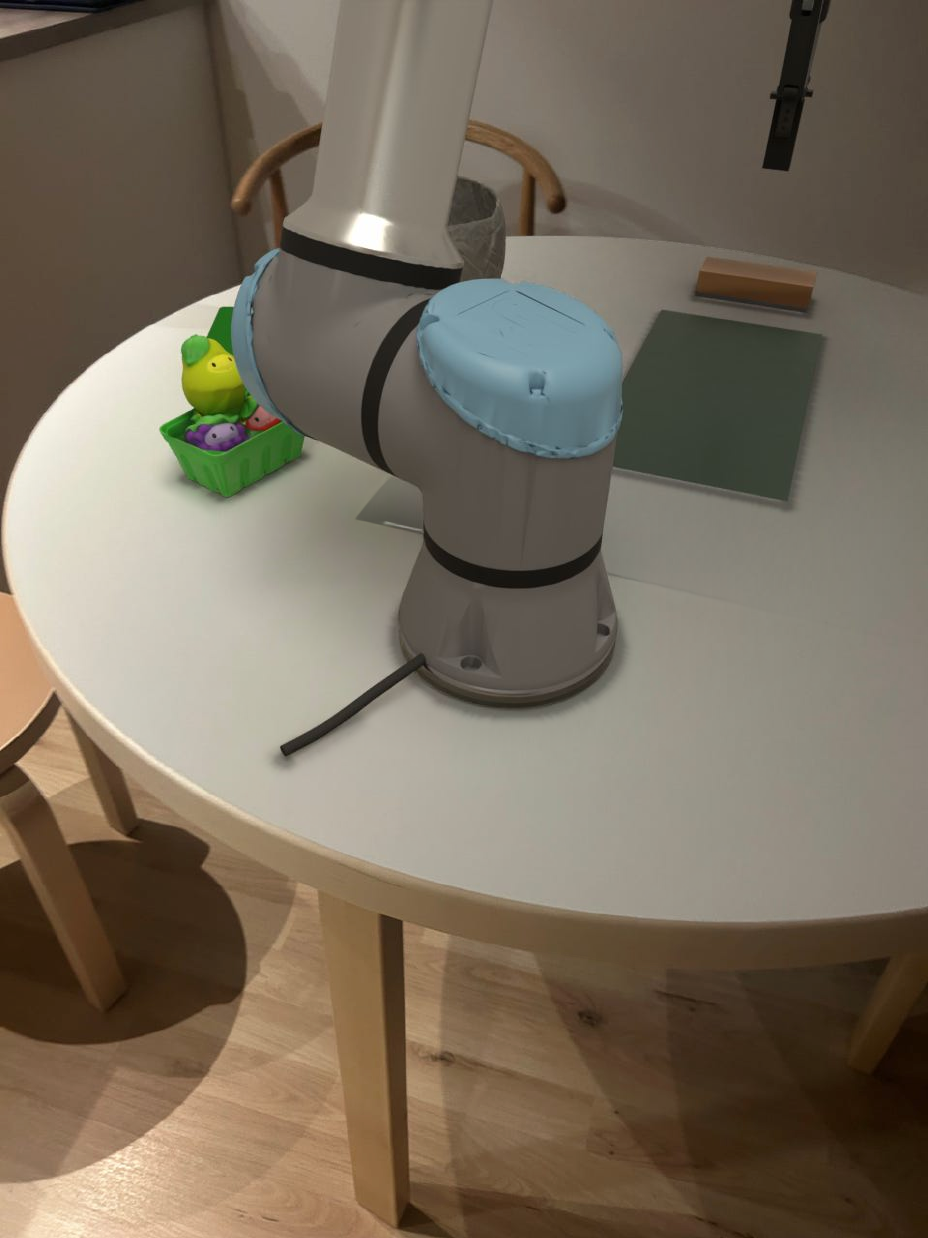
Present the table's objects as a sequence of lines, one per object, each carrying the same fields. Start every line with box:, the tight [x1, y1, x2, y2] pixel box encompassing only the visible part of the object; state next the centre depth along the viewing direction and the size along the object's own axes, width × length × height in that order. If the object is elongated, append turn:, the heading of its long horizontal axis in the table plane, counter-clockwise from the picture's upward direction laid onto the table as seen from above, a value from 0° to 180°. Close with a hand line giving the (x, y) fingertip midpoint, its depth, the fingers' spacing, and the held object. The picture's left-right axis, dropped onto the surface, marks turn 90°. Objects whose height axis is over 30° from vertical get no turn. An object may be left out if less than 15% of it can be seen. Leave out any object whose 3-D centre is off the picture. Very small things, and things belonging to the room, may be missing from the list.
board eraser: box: [694, 256, 818, 314], centre depth 114 cm, size 5×13×4 cm, turn 69°
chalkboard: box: [612, 309, 823, 502], centre depth 96 cm, size 36×18×1 cm, turn 160°
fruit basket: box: [158, 333, 305, 498], centre depth 81 cm, size 11×9×11 cm
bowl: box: [447, 174, 507, 282], centre depth 101 cm, size 20×20×15 cm
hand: (775, 167), depth 100 cm, fingers closed
